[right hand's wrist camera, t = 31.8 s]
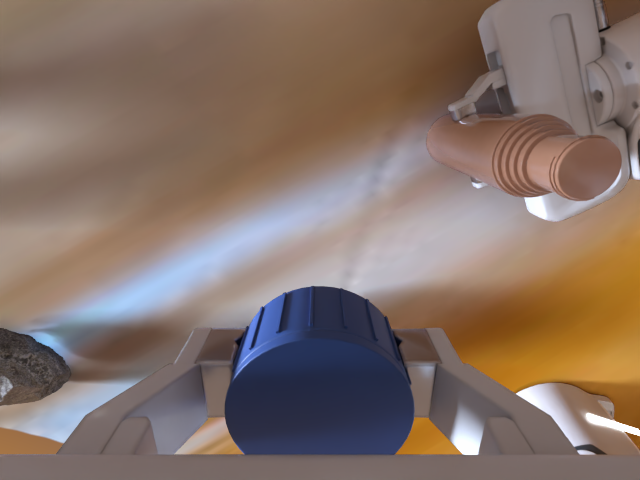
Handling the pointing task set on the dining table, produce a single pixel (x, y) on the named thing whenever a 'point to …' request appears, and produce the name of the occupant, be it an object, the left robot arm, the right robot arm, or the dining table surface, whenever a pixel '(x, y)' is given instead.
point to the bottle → (526, 154)
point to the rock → (28, 369)
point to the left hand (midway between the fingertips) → (462, 148)
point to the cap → (319, 379)
